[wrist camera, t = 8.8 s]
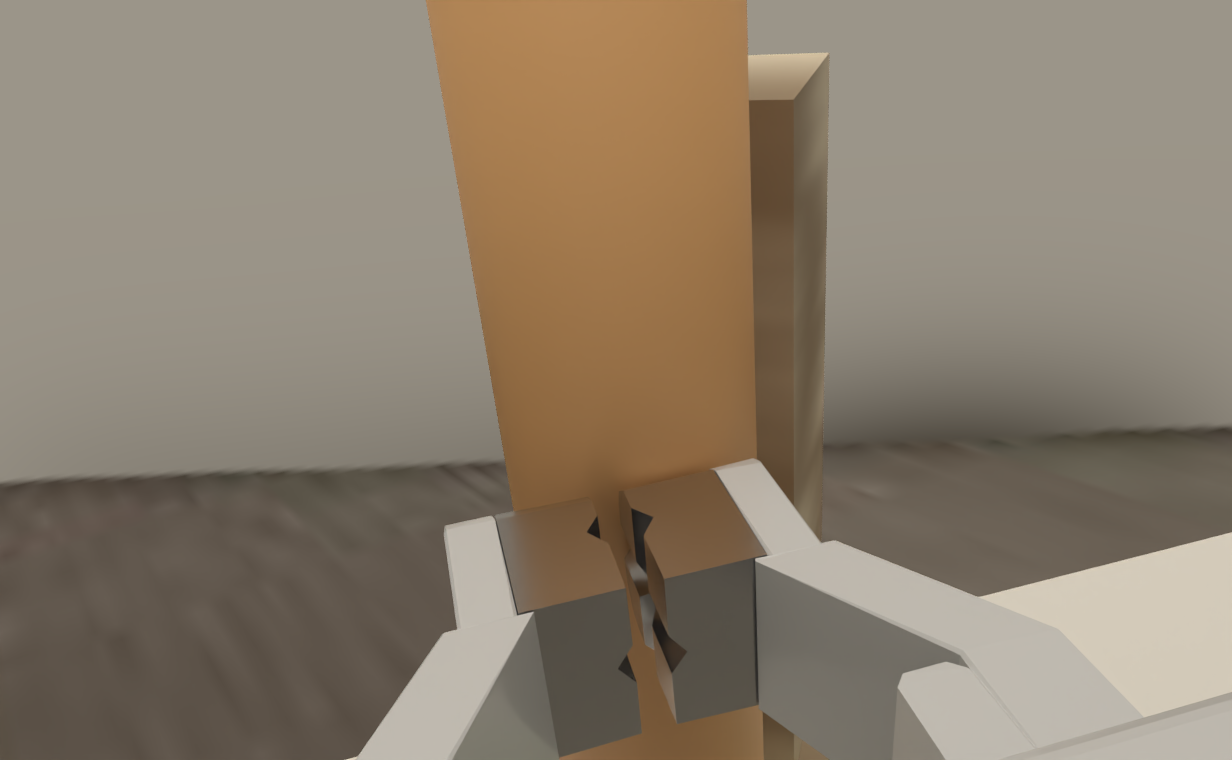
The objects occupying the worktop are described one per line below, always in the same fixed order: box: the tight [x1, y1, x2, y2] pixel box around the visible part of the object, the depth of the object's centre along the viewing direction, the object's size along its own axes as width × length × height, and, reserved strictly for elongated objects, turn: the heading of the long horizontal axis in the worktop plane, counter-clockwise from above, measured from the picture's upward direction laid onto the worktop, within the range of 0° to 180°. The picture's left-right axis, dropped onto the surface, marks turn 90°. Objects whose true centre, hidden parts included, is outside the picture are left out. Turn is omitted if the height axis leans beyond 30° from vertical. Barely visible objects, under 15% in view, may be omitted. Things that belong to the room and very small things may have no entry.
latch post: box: [748, 53, 830, 760], centre depth 16 cm, size 5×5×13 cm
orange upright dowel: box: [426, 0, 764, 760], centre depth 10 cm, size 14×3×19 cm, turn 79°
